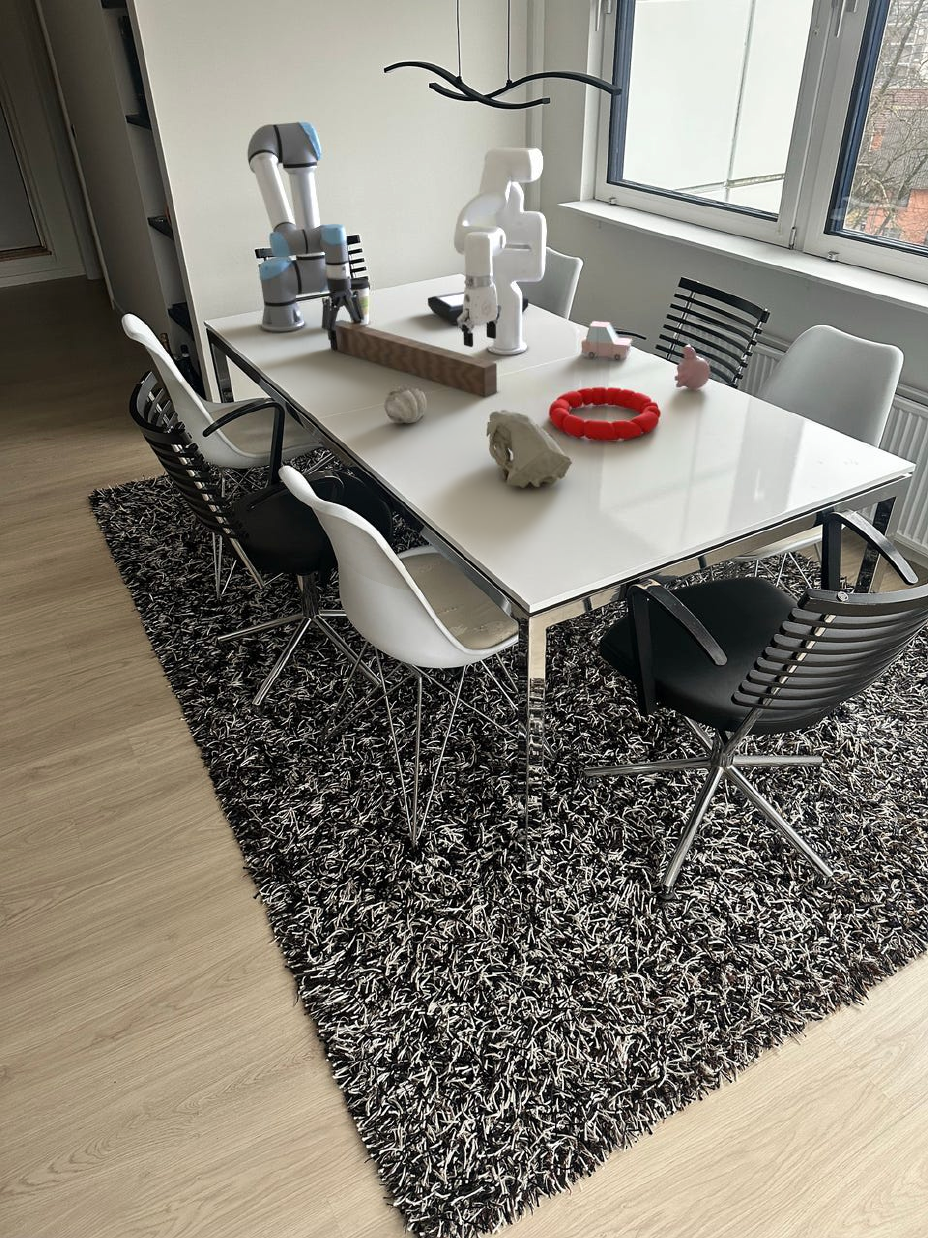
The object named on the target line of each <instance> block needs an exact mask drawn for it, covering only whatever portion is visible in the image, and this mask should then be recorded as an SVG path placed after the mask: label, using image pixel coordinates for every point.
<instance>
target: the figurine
mask: <svg viewBox="0 0 928 1238" xmlns="http://www.w3.org/2000/svg"><path fill="white" fill-rule="evenodd" d="M682 354H683V358H684V359H683V361H682V362H679V363H678V364H677V365H676V372H677V375H675V376H674V381H675V382H676V381H677V382H676V384H675V386H676V388H681V387H686V388H688V389H693V390H694V389H695V390H696V389H700V388H703V387H704V386H705V385H706V384H707V383H708V382H709V379H710V377H711V367H710V364H709V362H708V361H706V359H704V358H702V357H700V356H697V353H696V350H695V349H694V347H692V345H690V344H686V345H685V346H684V347H683V348H682Z"/></svg>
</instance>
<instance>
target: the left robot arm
mask: <svg viewBox="0 0 928 1238" xmlns="http://www.w3.org/2000/svg"><path fill="white" fill-rule="evenodd" d="M320 160H322V149H321V144H320V139H319V136H318V133H317V131H316V128H315V127H314V126H313V124H311V123H310V122H307V121H306V122H305V121H304V122H302V121H301V122H300V121H295V122H286V123H285V122H284V123H275V124H273V123H272V124H270V123H268V124H264V125H262V126H260V127H259V128H258V129H257V130H256V131H255V132H254V133H253V135H252V136H251V138H250V140H249V143H248V147H247V162H248V165H249V169H250V171H251V172H252V173H253V174H254V175H255V178H256V181H257V184H258V187H259V190H260V191H259V192H260V194H261V198H262V200H263V203H264V207H265V210H266V213H267V216H268V219H269V223H270V226H271V230H272V232H270V234H269V236H268V237H269V239H268V240H269V246H270V251H271V253H272V255H273V256H274V257H271V258H268V259H266V260H264V261H262V262H261V263H260V265H259V266H258V273H259V280H260V287H261V292H262V299H263V313H262V319H261V326H262V330H264V331H265V332H271V333H286V332H293V331H296V330H297V331H298V330H300V329H302V328H304V326H305V319H304V317H303V314H302V312H301V310H300V307H299V306H298V305H299V304H298V303H297V296H300V295H308V294H316V293H324V292H328V293H329V294H328V296H327V297H322V298H321V303H322V316H321V329H322V330H325V331H327V338H328V341H329V343H330V349H331V350H333V351H338V346H337V337H336V330H334V326H335V322H336V321H337V318H338V314H339V311H340V309H341V308H342V307H345V309H346V311H347V313H348V314H349V317H350V316H351V318H352V320H353V322H352V323H355V324H358V325H360V324H359V323H361V322H362V321H361V320H363V319H364V316H363V312H362V309H361V305H360V301H359V293H358V291H355V290H350V288H351V282H350V278H351V277H350V273H351V272H350V264H349V263H350V262H349V252H348V243H347V238H348V236H347V233H346V232H347V231H346V227H345V226H344V225H343V224H338V223H331V224H321V217H320V211H319V203H318V196H317V189H316V181H315V179H316V178H315V171H316V169H317V168H318V162H319V161H320ZM279 164H282V169H283V171H285V172H286V174H287V175H288V179H289V186H290V193H291V195H290V196H291V201H292V208H293V213H292V210H291V208H290V204H289V201H288V197H287V194H286V192H285V191H286V190H285V187H284V185H283V181H282V178H281V175H280V172H279V169H278V167H279ZM293 215H294V216H293ZM293 256H294V257H295V260H294V259H293V260H292V258H291V257H293ZM350 297H351V299H352V303H353V306H354V308H353V306H352V303H351V301H350ZM351 318H350V319H351Z"/></svg>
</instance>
